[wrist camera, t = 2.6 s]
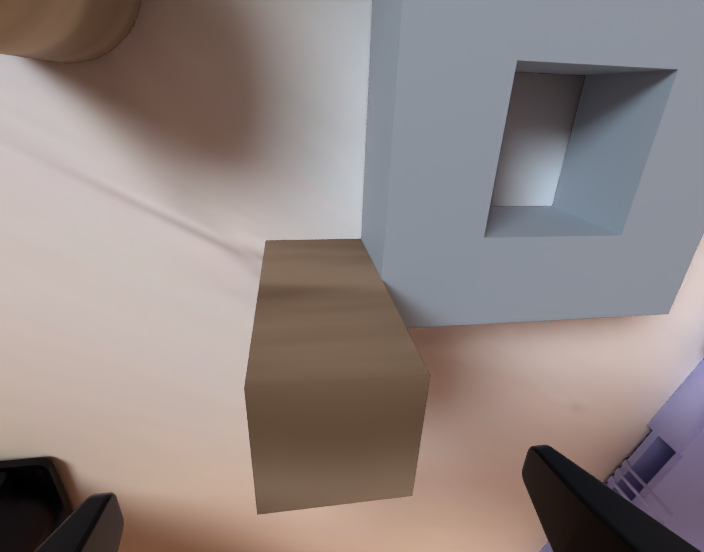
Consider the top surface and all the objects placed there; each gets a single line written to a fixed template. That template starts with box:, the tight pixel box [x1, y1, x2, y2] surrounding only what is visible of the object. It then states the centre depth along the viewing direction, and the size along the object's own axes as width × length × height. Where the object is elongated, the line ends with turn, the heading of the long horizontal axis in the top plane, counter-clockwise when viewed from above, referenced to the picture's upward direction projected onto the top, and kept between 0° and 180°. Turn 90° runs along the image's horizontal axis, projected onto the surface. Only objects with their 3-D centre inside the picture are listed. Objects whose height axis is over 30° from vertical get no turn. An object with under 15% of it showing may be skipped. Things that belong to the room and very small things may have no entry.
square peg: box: [244, 239, 430, 514], centre depth 13 cm, size 4×4×9 cm
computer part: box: [540, 358, 704, 552], centre depth 27 cm, size 30×4×15 cm
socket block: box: [361, 0, 704, 328], centre depth 14 cm, size 12×12×4 cm
